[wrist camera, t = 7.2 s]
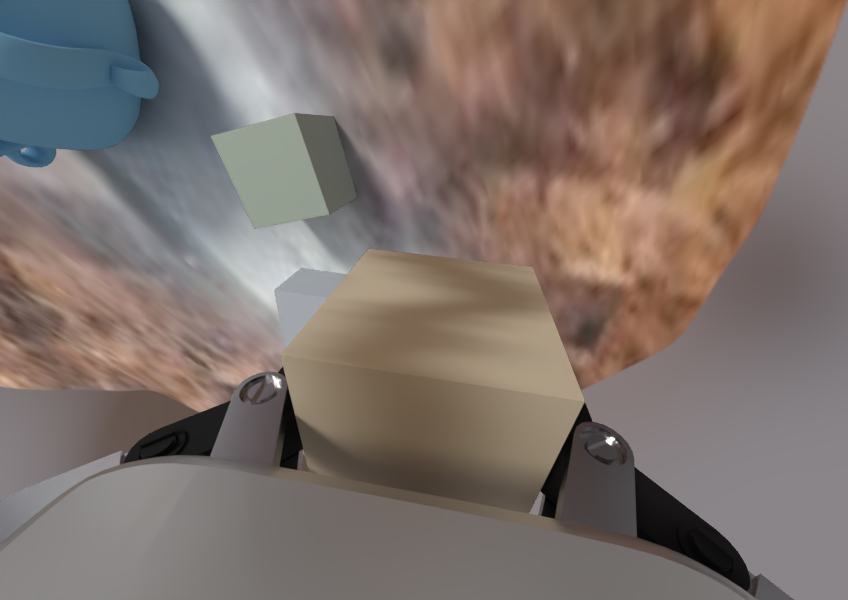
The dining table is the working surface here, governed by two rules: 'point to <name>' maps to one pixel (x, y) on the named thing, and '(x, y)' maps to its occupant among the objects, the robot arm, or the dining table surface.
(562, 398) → the maple cube
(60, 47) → the decorative pot
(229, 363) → the dining table surface
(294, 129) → the sage cube
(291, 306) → the base block
